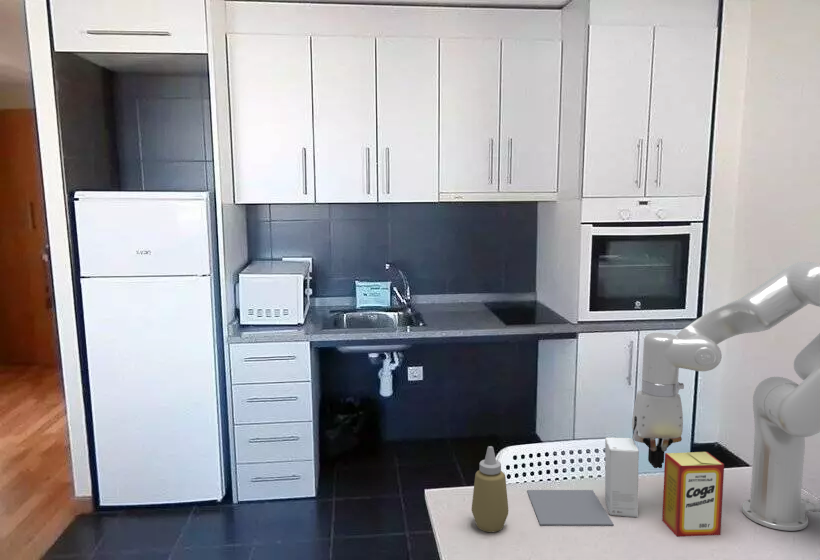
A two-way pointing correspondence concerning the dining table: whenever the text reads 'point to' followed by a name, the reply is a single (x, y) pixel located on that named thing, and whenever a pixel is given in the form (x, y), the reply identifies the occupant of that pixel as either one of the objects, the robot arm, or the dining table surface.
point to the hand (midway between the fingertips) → (655, 465)
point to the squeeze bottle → (490, 494)
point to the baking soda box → (693, 493)
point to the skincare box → (621, 476)
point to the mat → (568, 508)
